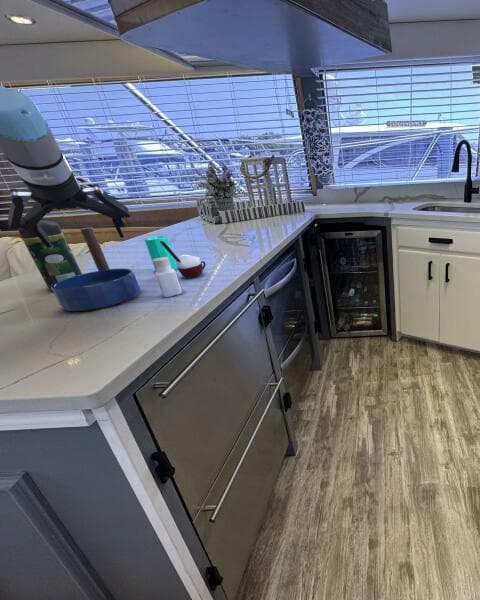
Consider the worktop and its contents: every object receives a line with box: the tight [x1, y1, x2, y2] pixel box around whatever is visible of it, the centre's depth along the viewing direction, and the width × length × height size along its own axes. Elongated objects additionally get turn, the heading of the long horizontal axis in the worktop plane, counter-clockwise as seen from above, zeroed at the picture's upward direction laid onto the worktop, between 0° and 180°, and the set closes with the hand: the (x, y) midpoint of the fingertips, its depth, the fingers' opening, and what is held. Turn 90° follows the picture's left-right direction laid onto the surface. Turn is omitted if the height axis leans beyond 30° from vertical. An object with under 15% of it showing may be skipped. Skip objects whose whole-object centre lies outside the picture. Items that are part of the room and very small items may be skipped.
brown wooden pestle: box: [80, 227, 110, 271], centre depth 88 cm, size 5×5×16 cm
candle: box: [144, 232, 178, 272], centre depth 102 cm, size 6×6×12 cm
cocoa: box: [160, 241, 206, 279], centre depth 94 cm, size 10×6×12 cm, turn 130°
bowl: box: [51, 267, 141, 312], centre depth 80 cm, size 15×15×6 cm
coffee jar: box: [17, 219, 83, 292], centre depth 89 cm, size 10×8×19 cm
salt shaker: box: [152, 257, 183, 298], centre depth 81 cm, size 4×4×10 cm
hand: (86, 237), depth 80 cm, fingers open, 13 cm apart
